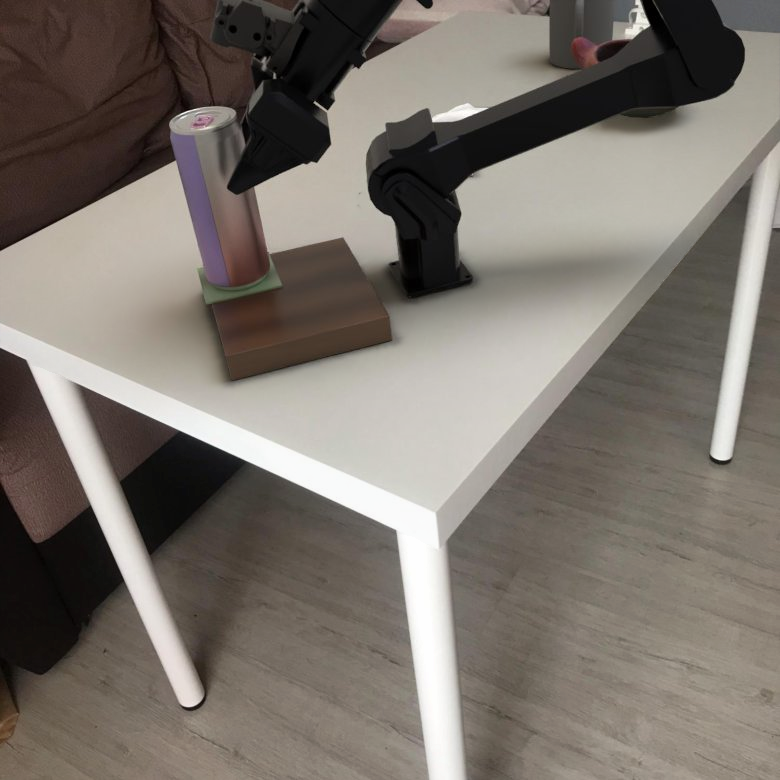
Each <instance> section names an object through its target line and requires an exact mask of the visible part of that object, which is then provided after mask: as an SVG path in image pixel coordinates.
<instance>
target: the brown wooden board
mask: <svg viewBox="0 0 780 780" xmlns="http://www.w3.org/2000/svg"><path fill="white" fill-rule="evenodd" d="M268 256H269V261H270V269H269V272H268V274H267V276H266V278H265V279H264V280H263V281H262V282H260V283H259V284H257V285H255V286H253V287H250V288H247V289H243V290H238V291H226V290H221V289H218V288H216V287H215V286H213V285H212V284H211V283H210V282H209V281H208V280H207V278H206V274H205V270H204V266H201V267H198V268H196V270H197V276H198V278H199V283H200V286H201V291H202V294H203V299H204V302H205V306H207V305H211V306H212V310H213V314H214V318H215V322H216V325H217V330H218V333H219V337H220V340H221V341H220V342H221V344H222V348H223V352H224V356H225V359H226V363H227V367H228V371H229V375H230V379H231V381H235V380H239V379H244V378H248V377H252V376H256V375H261V374H265V373H267V372H271V371H276V370H280V369H284V368H287V367H291V366H295V365H300V364H303V363H307V362H312V361H315V360H319V359H323V358H326V357H327V358H328V357H330V356H335V355H338V354H339V355H340V354H343V353H347V352H352V351H355V350H359V349H363V348H367V347H370V346H374V345H379V344H382V343H388V342H391V341H392V340H393V333H392V326H391V325H392V323H391V317H390V314H389V313H388V311H387V309H386V307H385V305H384V304H383V302H382V301H381V299H380V297H379V296H378V294H377V292H376V290H375V289H374V287H373V285H372V284H371V281H369V279H368V277H367V275H366V273H365V271H364V270H363V268H362V267H361V265H360V263H359V261H358V260H357V258H356V256H355V255H354V254H353V252H352V250H351V248H350V246H349V245H348V242H347V241H346V239H345V238H344V236H343V237H338V238H334V239H329V240H324V241H320V242H315V243H312V244H307V245H303V246H299V247H294V248H290V249H286V250H282V251H276V252H272V253H270V252H269V251H268Z"/></svg>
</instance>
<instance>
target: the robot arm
mask: <svg viewBox="0 0 780 780" xmlns="http://www.w3.org/2000/svg"><path fill="white" fill-rule="evenodd" d="M403 1H404V0H298V1H297V2H296V4H295V5H294V7H293V8H292V10H289V9H287V8H283V7H280V6H278V5H276V4H274V3H272V2H269V1H265V0H217V3H216V7H215V12H214V17H213V20H212V21H213V22H212V27H211V30H210V31H211V32H210V35H209V40H210V41H211V42H212V43H214V44H215V45H218V46H220V47H223V48H227V49H228V48H229V47H232V48H235V49H239V50H241V51H244V52H248V53H251V54H253V56H251V62H250V70H251V76H252V80H253V81H252V82H253V86H254V88H253V91H252V94H251V97H250V99H249V101H248V103H247V105H246V109H245V112H244V114H243V116H242V119H241V121H240V123H241V125H242V130H243V135H244V140H245V147H244V150H243V152H242V154H241V156H240V158H239V160H238V162H237V164H236V167H235V169H234V171H233V173H232V175H231V177H230V180H229V182H228V184H227V189H228V190H229V191H230V192H232V193H234V194H235V195H239V194H241V193H243V192H245V191H247V190H249V189H251V188H253V187H254V188H255V187H256V186H259V185H260V184H263V183H265V182H267V181H268V180H270V179H273V178H275V177H277V176H279V175H281V174H283V173H285V172H288V171H290V170H292V169H294V168H297V167H299V166H301V165H305V166H306V165H310V164H311V163H315V164H318V162H319V161H320V160H321V159H322V158H323V156H324V155H325V153H326V152H327V151H328V150H329V148H330V147H331V146H332V139H331V138H332V137H331V130H330V123H329V117H328V111H329V110H330V109H331V107H332V106H333V104H335V102H336V98H335V92H336V91H337V90H338V88H339V87H340V86H341V84H342V83H343V82H344V80H345V79H346V77H347V76H348V75H349V73H350V72H351V71H352V70H353V68H354V67H355V68H356V69H358V70H360V69H361V67H362V66H363V65H364V63H365V62H366V61H367V55H366V51H367V49H368V48H369V46H371V44H372V43H373V42H374V40H375V38H376V37H377V36H378V35H379V33H380V32H381V31H382V29H383V28H384V27H385V25H386V23H387V22H388V21H389V20H390V18H391V17H392V16H393V14H395V12H396V11H397V9H398V8H399V6H400V5H401V4H402V3H403ZM639 1H640V4H641V7H642V11H643V13H644V16H645V18H646V20H647V22H648V24H649V26H647V27H645V28H644V29H642V30H641V31H640V32H638V33H637V34H636V35H635V36H634V37H633V38H631V39H632V40H631V41H630V42H629V43H628V44H627V45H626V46H625V47H624V48H622V49H621V50H620V51H619V52H618V53H617V54H616V55H614V56H613V57H611V58H609V59H607V60H604V61H602V62H599V63H597V64H595V65H592V66H590V67H587V68H585V69H582V68H581V69H579V70H578V71H576V72H573V73H570V74H567V75H566V76H563V77H561V78H559V79H556V80H553V81H552V82H548V83H546V84H543V85H541V86H539V87H536V88H534V89H532V90H529V91H527V92H523V93H522V94H520V95H517V96H514V97H512V98H510V99H506V100H505V101H503V102H499V103H498V104H495V105H493V106H490V107H487V108H488V109H485V110H483V111H481V112H478V113H476V114H473V115H471V116H468V117H466V118H464V119H461V120H458V121H453V122H432V118H433V117H432V114H431V110H430V109H429V108H428V107H426V108H423V109H420V110H418V111H416V112H415V113H414V114H412V115H411V116H409V117H407V118H405V119H402V120H399V121H392V122H385V124H384V125H385V126H384V127H385V131H383V132H381V133H380V134H378V135H377V136H375V138H373V139H372V140H371V143H370V144H369V147H368V148H367V151H366V154H365V155H366V156H365V171H366V184H367V185H366V186H367V192H368V196H369V200H370V202H371V203H372V204H373V206H374V208H375V209H377V210H378V211H379V212H380V213H382V214H383V215H385V216H389V217H390V218H391V219H392V221H393V223H394V229H395V239H396V248H397V249H396V250H397V258H398V260H394V261H391V262H389V263H388V268H389V271H390V272H391V274H392V275H393V277H394V279H395V280H396V282H397V283H398V285H399V286H400V288H401V289H402V291H403V292H404V294H405V295H406V297H408V298H415V297H418V296H422V295H426V294H430V293H431V294H432V293H435V292H439V291H443V290H447V289H451V288H456V287H459V286H464V285H467V284H471V283H473V282H474V275H473V274H472V273H471V272H470V270H469V269H468V267H466V265H465V264H464V263H463V261H462V260H461V259H460V245H459V243H460V242H459V230H458V229H459V224H460V221H461V218H462V210H461V205H460V203H459V199H458V196H457V192H456V190H457V189H458V188H459V187H460V186H462V185H463V183H465V182H466V181H467V180H468V179H469V178H470V177H472V176H471V175H472V174H473V175H474V174H476V173H477V172H479V171H481V170H485V169H486V168H490V167H491V166H494V165H496V164H499V163H502V162H504V161H507V160H509V159H511V158H514V157H517V156H519V155H521V154H524V153H527V152H529V151H532V150H534V149H537V148H539V147H541V146H544V145H547V144H549V143H552V142H554V141H556V140H559V139H561V138H564V137H567V136H569V135H571V134H575V133H577V132H580V131H582V130H585V129H587V128H590V127H592V126H595V125H597V124H599V123H601V122H605V121H606V120H609V119H612V118H614V117H617V116H621V115H620V114H622V113H625V112H627V111H630V110H634V109H642V108H674V107H678V108H680V107H684V106H689V105H692V104H697V103H701V102H706V101H710V100H711V101H712V100H713V99H717V98H719V97H720V96H722V95H724V94H726V93H728V92H729V91H730V90H731V89H732V88H733V87H734V86H735V84H736V81H737V79H738V78H739V76H740V74H741V73H742V70H743V68H744V64H745V61H746V47H745V45H744V42H743V39H742V37H741V36H740V35H739V34H738V33H737V32H736V30H734V29H732V28H731V27H730V26H728V25H727V24H726V23H724V22H723V20H722V17H721V16H720V13H719V11H718V8H717V7H716V5H715V3H714V1H713V0H639ZM415 2H417V3H418V4H420V6H421V7H423V8H424V9H425V10H430V9H432V7H433V6H434V0H415ZM317 104H318V105H317ZM320 106H321V107H322V108H321V107H320Z"/></svg>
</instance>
